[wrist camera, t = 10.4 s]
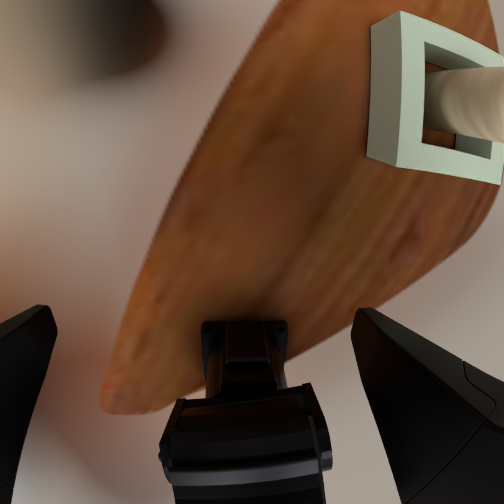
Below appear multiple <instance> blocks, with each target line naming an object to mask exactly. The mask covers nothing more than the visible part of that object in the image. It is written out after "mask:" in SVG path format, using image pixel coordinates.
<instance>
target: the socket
mask: <svg viewBox="0 0 504 504" xmlns="http://www.w3.org/2000/svg"><path fill="white" fill-rule="evenodd" d="M425 61H426V62H429V63H432V64H435V65H437V66H440V67H443V68H446V69H448V70H455V69H466V68H480V67H500V66H504V57H503V56H501V55H499V54H497V53H496V52H494V51H492V50H490V49H488V48H487V47H485V46H483V45H481V44H479V43H477V42H475V41H473V40H471V39H469V38H467V37H465V36H463V35H461V34H459V33H456V32H454V31H452V30H450V29H447V28H445V27H443V26H440V25H438V24H436V23H433V22H431V21H428V20H425V19H423V18H420V17H417V16H415V15H412V14H409V13H406V12H403V11H398V12H396V13H394V14H393V15H391V16H389V17H387V18H385V19H383V20H381V21H379V22H378V23H376V24H374V25H372V26H371V90H370V113H369V130H368V143H367V155H366V157H369V158H372V159H375V160H378V161H381V162H384V163H387V164H390V165H392V166H395V167H401V168H409V169H416V170H423V171H429V172H436V173H442V174H448V175H453V176H459V177H464V178H469V179H475V180H480V181H484V182H489V183H494V184H498V185H500V184H501V177H502V170H503V163H504V144H503V143H499V142H494V141H490V140H485V139H480V138H476V137H470V136H465V135H460V134H456V144H455V150H453V149H449V148H445V147H440V146H435V145H431V144H426V143H421V141H422V129H423V114H424V89H425Z"/></svg>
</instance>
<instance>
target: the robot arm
mask: <svg viewBox="0 0 504 504" xmlns="http://www.w3.org/2000/svg"><path fill="white" fill-rule="evenodd" d="M280 327H284V328H282V329H279V328H280ZM205 328H210V329H209V330H207V329H205ZM56 337H57V326H56V323H55V320H54V317H53V314H52V311H51V309H50V307H49V306H47V305H39V304H38V305H35V306H33V307H31V308H29V309H27V310H25V311H23V312H22V313H19V314H17V315H16V316H14V317H12V318H10V319H8V320H6V321H4V322H2V323H0V504H11V501H12V495H13V488H14V484H15V479H16V474H17V470H18V465H19V461H20V457H21V453H22V449H23V445H24V441H25V438H26V434H27V431H28V427H29V424H30V420H31V417H32V414H33V411H34V408H35V405H36V402H37V399H38V396H39V393H40V390H41V387H42V384H43V382H44V379H45V376H46V372H47V369H48V365H49V361H50V358H51V354H52V351H53V347H54V344H55V341H56ZM287 337H288V325H287V323H286V322H285V321H229V322H204V323H203V324H202V325H201V340H202V351H203V362H204V372H205V380H206V398H203V399H189V400H186V399H185V398H181V399H177V401H176V403H175V406H174V408H173V410H172V413H171V415H170V418H169V420H168V423H167V425H166V427H165V430H164V433H163V435H162V438H161V440H160V443H159V448H160V452H159V454H158V456H159V460H160V461H161V462H162V466H163V470H164V474H165V476H166V478H167V480H168V481H169V483H171V484H172V487H173V492H174V497H175V504H326V499H325V490H324V482H323V475H322V471H327V470H331V469H332V464H333V463H332V462H333V460H332V448H331V442H330V436H329V432H328V427H327V424H326V421H325V417H324V415H323V412H322V410H321V407H320V405H319V402H318V400H317V397H316V395H315V392H314V391H313V388H312V385H311V383H305V384H302V386H297V387H291V388H287V383H286V378H285V373H284V361H285V353H286V345H287ZM351 341H352V344H353V348H354V352H355V356H356V361H357V365H358V369H359V373H360V377H361V381H362V384H363V387H364V390H365V393H366V395H367V399H368V401H369V404H370V407H371V410H372V413H373V415H374V418H375V421H376V424H377V427H378V430H379V433H380V436H381V439H382V442H383V445H384V448H385V451H386V454H387V457H388V461H389V464H390V467H391V470H392V473H393V477H394V480H395V483H396V486H397V490H398V493H399V496H400V500H401V503H402V504H504V382H503V381H501V380H499V379H497V378H495V377H493V376H491V375H489V374H487V373H485V372H483V371H481V370H480V369H478V368H476V367H474V366H472V365H471V364H469V363H467V362H466V361H462V359H460V358H459V357H457V356H455V355H453V354H452V353H450V352H448V351H446V350H445V349H443V348H441V347H439V346H438V345H436V344H434V343H432V342H431V341H429V340H427V339H426V338H424V337H422V336H420V335H418V334H417V333H415V332H413V331H412V330H410V329H408V328H406V327H404V326H403V325H401V324H399V323H398V322H396V321H394V320H392V319H390V318H389V317H387V316H385V315H384V314H382V313H380V312H378V311H377V310H375V309H373V308H370V307H368V308H359V309H357V311H356V313H355V317H354V322H353V326H352V330H351Z"/></svg>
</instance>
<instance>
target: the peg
mask: <svg viewBox="0 0 504 504" xmlns="http://www.w3.org/2000/svg"><path fill="white" fill-rule="evenodd" d="M423 129H428V130H435V131H442V132H448V133H454V134H460V135H465V136H470V137H476V138H480V139H485V140H490V141H494V142H499V143H503V144H504V66H500V67H480V68H466V69H455V70H446V71H437V72H430V73H425V89H424V114H423Z"/></svg>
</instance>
